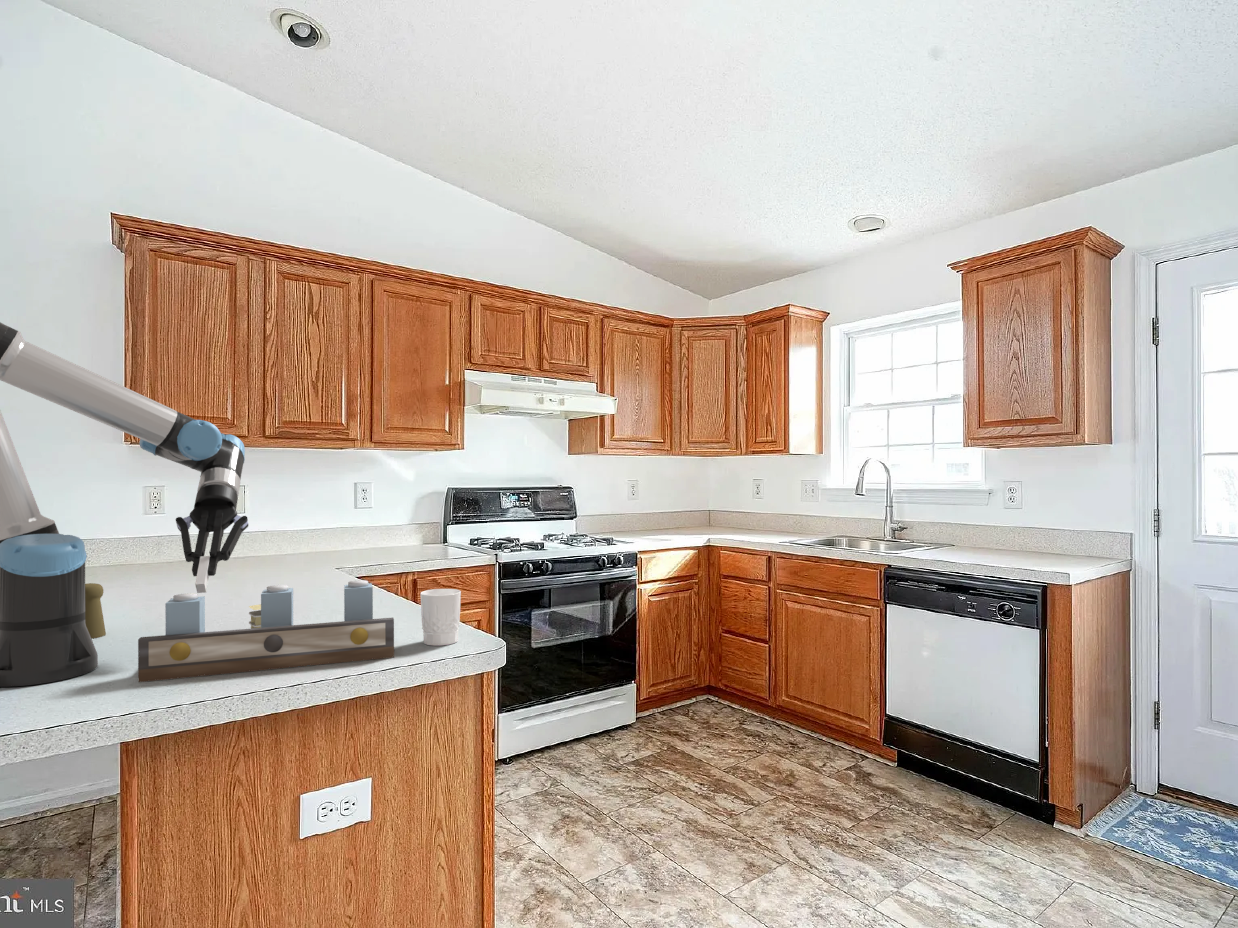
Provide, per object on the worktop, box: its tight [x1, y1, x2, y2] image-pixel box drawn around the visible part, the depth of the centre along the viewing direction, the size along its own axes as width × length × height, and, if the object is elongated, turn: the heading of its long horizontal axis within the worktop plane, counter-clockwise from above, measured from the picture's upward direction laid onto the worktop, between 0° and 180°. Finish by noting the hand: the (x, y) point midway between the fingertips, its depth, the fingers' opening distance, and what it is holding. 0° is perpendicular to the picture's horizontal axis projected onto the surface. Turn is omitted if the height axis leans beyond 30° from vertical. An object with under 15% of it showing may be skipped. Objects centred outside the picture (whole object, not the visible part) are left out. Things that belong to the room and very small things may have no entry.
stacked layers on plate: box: [248, 603, 261, 629], centre depth 154 cm, size 10×9×6 cm
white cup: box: [420, 588, 462, 647], centre depth 143 cm, size 8×8×10 cm
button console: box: [137, 617, 395, 683], centre depth 130 cm, size 13×40×7 cm, turn 111°
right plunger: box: [343, 579, 374, 621], centre depth 136 cm, size 5×5×11 cm
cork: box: [85, 582, 107, 639], centre depth 149 cm, size 6×6×11 cm
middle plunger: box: [260, 584, 294, 628], centre depth 131 cm, size 5×5×11 cm
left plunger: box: [164, 592, 206, 635], centre depth 123 cm, size 5×5×11 cm
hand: (200, 588), depth 132 cm, fingers closed
